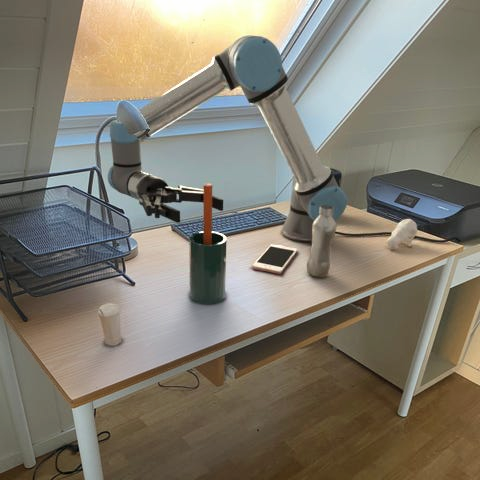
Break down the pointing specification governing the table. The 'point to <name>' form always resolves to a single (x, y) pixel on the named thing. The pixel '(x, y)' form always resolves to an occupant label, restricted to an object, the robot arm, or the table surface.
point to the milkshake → (110, 323)
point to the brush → (207, 214)
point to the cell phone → (274, 259)
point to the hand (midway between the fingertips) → (201, 211)
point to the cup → (207, 268)
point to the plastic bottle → (321, 242)
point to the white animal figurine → (402, 234)
